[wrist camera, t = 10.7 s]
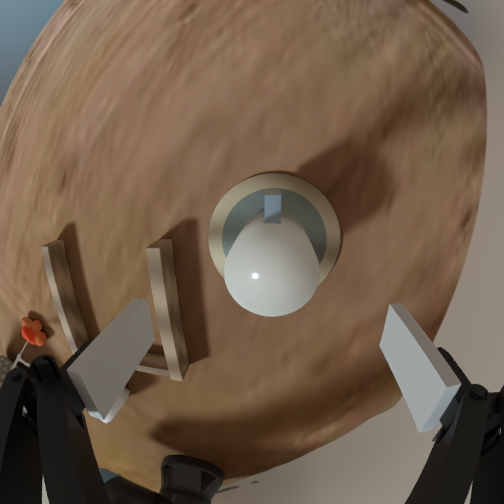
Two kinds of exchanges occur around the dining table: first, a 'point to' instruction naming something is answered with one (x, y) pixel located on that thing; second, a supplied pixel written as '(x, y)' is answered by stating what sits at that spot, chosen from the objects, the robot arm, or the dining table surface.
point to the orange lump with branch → (31, 336)
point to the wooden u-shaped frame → (163, 298)
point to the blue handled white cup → (272, 262)
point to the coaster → (292, 200)
